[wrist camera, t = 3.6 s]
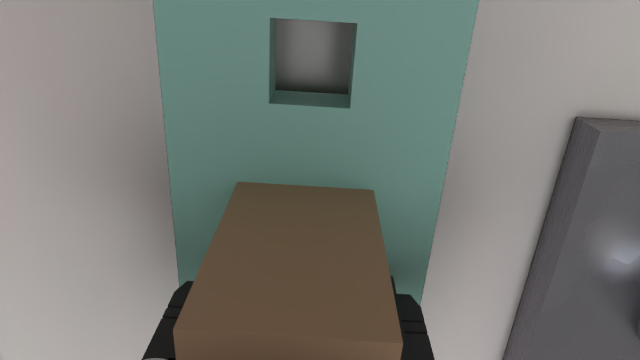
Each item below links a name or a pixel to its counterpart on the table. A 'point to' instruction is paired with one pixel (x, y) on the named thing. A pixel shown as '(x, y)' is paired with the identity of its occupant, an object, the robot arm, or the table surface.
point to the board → (305, 174)
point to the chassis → (587, 254)
